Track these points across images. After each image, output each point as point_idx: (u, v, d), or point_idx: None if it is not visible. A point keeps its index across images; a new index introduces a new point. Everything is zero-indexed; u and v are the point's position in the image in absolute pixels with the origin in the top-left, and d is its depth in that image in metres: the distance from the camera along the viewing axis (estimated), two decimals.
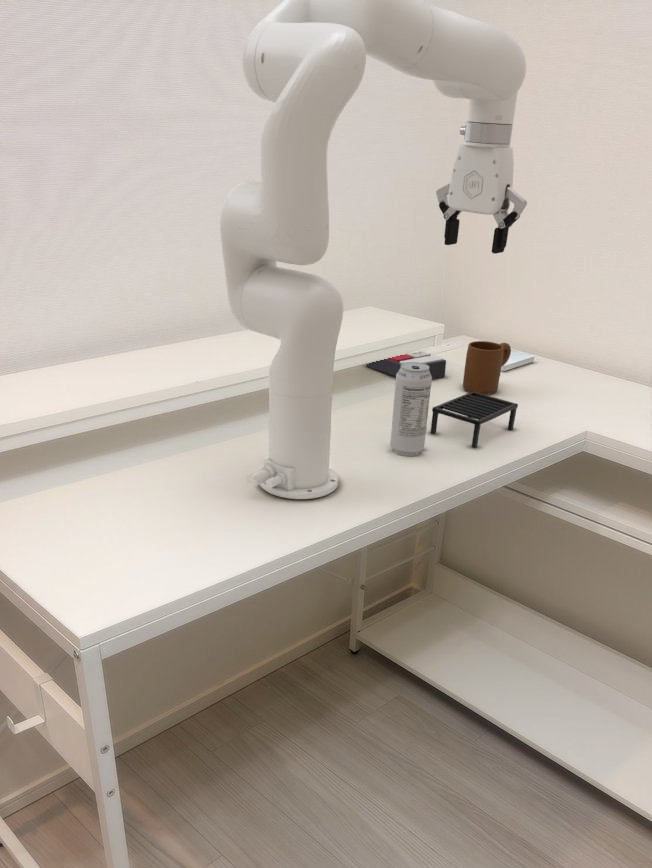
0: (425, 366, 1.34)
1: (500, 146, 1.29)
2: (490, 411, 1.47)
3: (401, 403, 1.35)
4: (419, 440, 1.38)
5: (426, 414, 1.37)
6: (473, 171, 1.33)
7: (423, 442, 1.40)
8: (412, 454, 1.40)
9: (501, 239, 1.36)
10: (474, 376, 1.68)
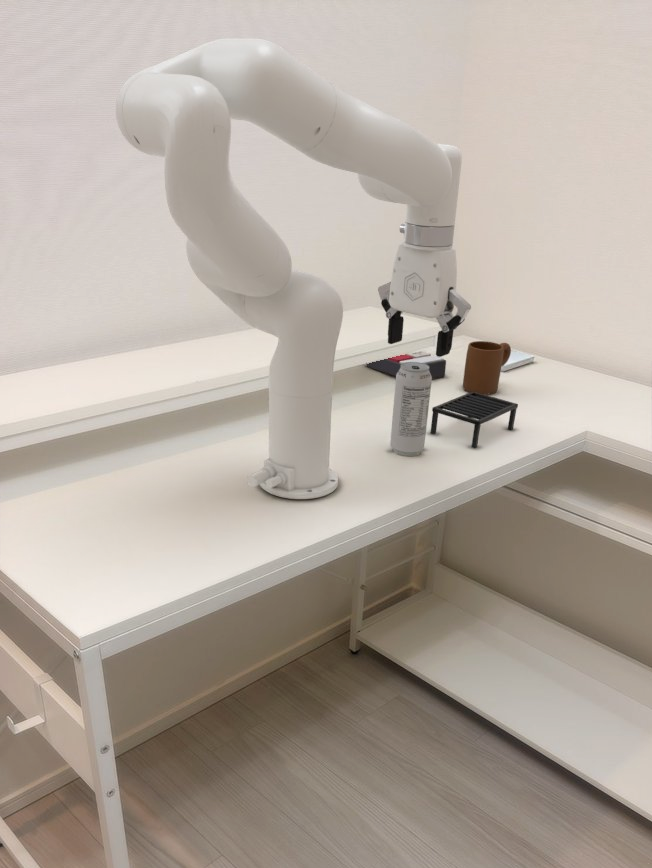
0: (425, 366, 1.34)
1: (441, 249, 1.21)
2: (490, 411, 1.47)
3: (401, 403, 1.35)
4: (419, 440, 1.38)
5: (426, 414, 1.37)
6: (413, 273, 1.24)
7: (423, 442, 1.40)
8: (412, 454, 1.40)
9: (445, 342, 1.28)
10: (474, 376, 1.68)
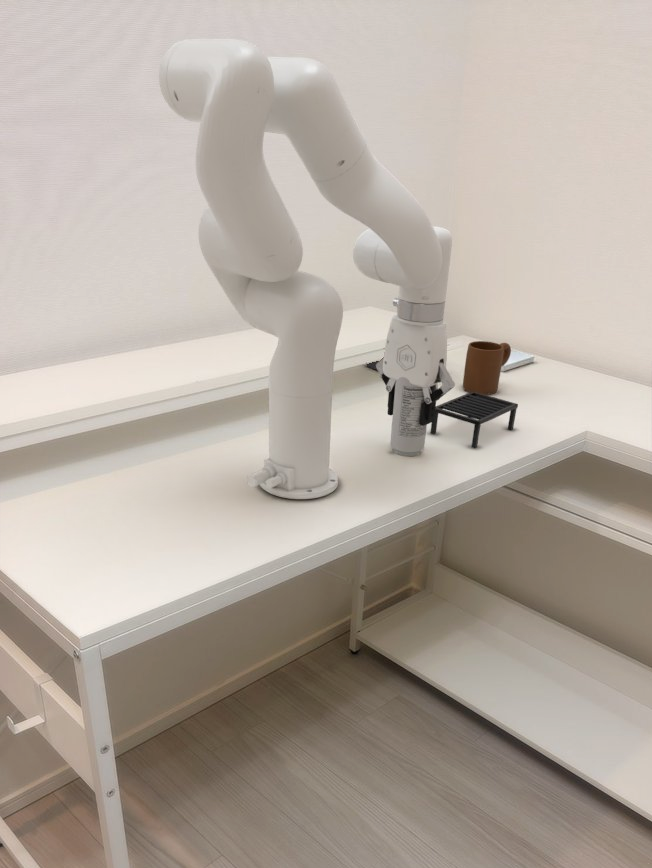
0: None
1: (432, 324, 1.27)
2: (490, 411, 1.47)
3: (401, 403, 1.35)
4: (419, 440, 1.38)
5: None
6: (406, 345, 1.30)
7: (423, 442, 1.40)
8: (412, 454, 1.40)
9: (428, 413, 1.35)
10: (474, 376, 1.68)
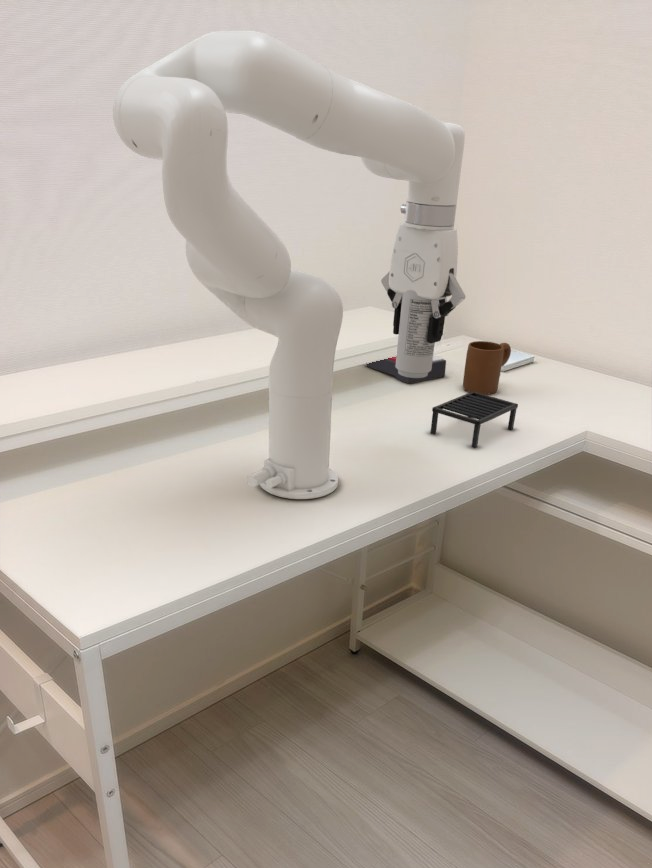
0: None
1: (442, 229, 1.19)
2: (490, 411, 1.47)
3: (408, 319, 1.27)
4: (426, 360, 1.31)
5: None
6: (414, 253, 1.22)
7: (430, 363, 1.32)
8: (419, 376, 1.32)
9: (437, 329, 1.27)
10: (474, 376, 1.68)
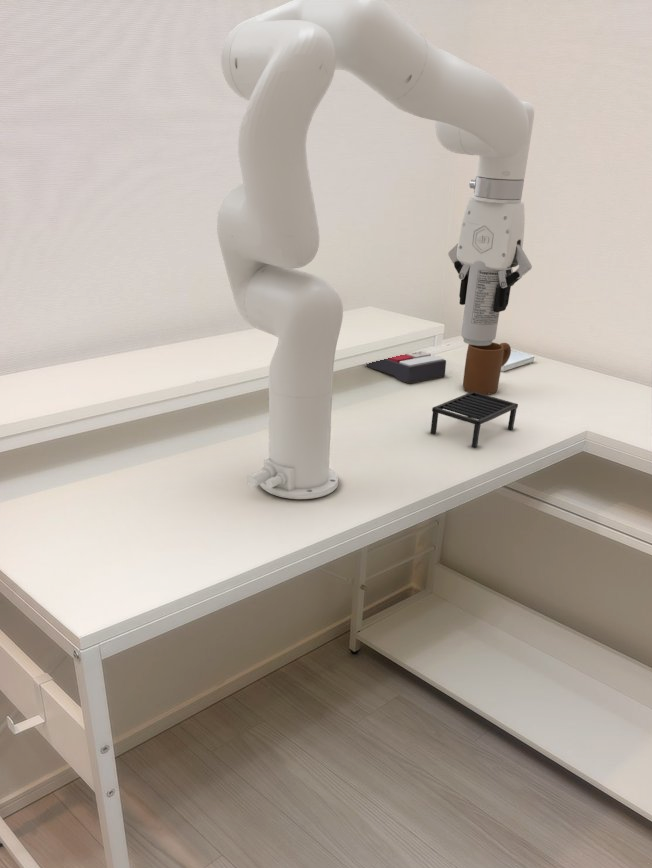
0: None
1: (511, 202, 1.26)
2: (490, 411, 1.47)
3: (475, 289, 1.34)
4: (491, 328, 1.38)
5: None
6: (483, 226, 1.29)
7: (495, 331, 1.39)
8: (484, 344, 1.39)
9: (503, 298, 1.34)
10: (474, 376, 1.68)
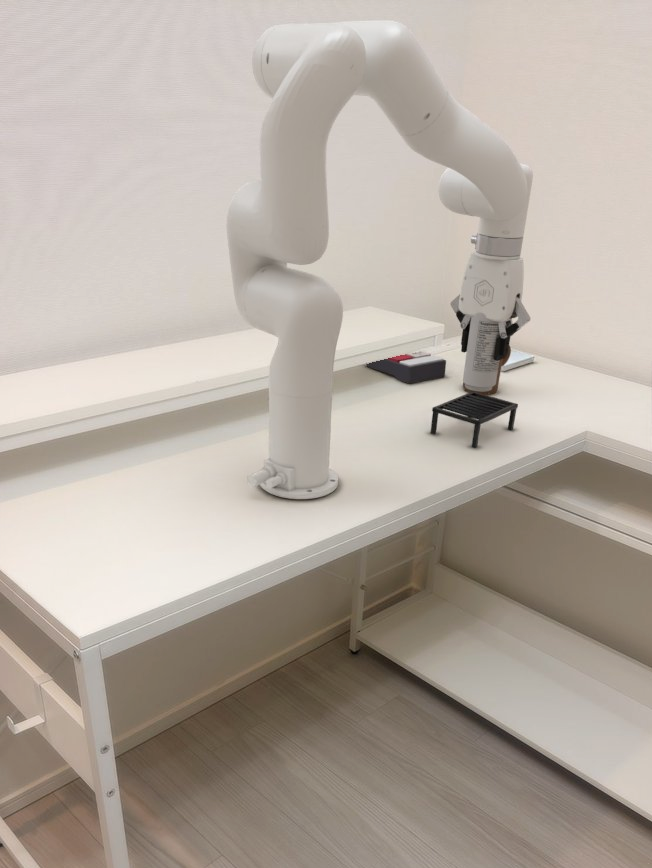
0: None
1: (511, 258, 1.32)
2: (490, 411, 1.47)
3: (476, 339, 1.40)
4: (492, 375, 1.43)
5: None
6: (484, 280, 1.35)
7: (495, 378, 1.45)
8: (485, 390, 1.45)
9: (503, 348, 1.40)
10: None
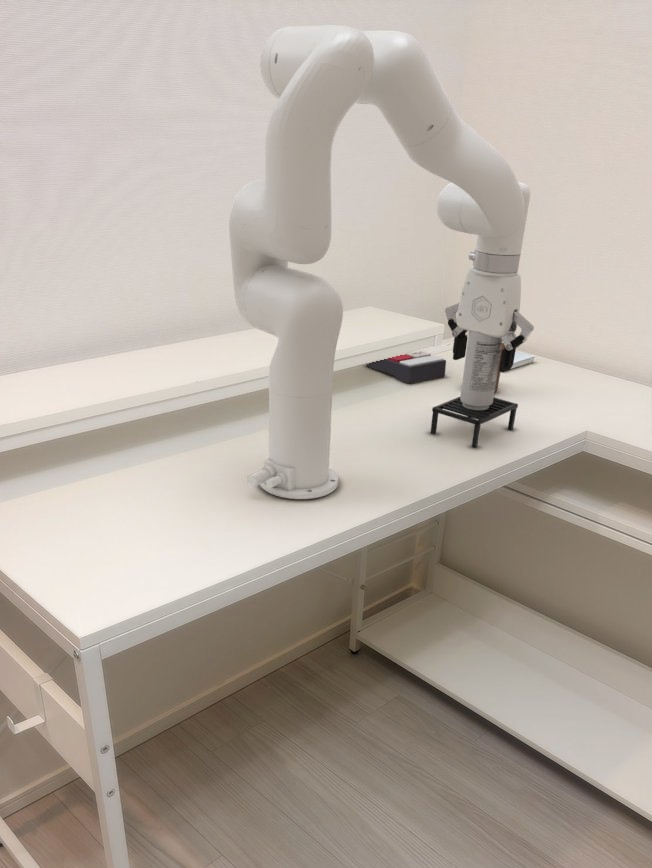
0: None
1: (508, 275, 1.33)
2: (490, 411, 1.47)
3: (473, 359, 1.42)
4: (489, 395, 1.45)
5: (496, 369, 1.44)
6: (481, 296, 1.36)
7: (492, 397, 1.46)
8: (482, 408, 1.47)
9: (508, 359, 1.40)
10: None
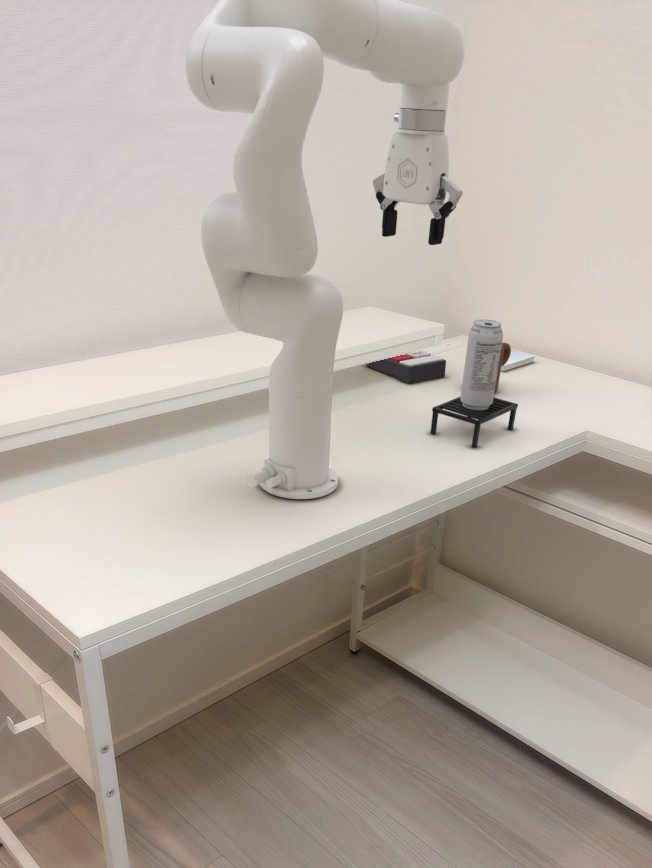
0: (497, 323, 1.41)
1: (433, 133, 1.25)
2: (490, 411, 1.47)
3: (473, 359, 1.42)
4: (489, 395, 1.45)
5: (496, 369, 1.44)
6: (407, 159, 1.28)
7: (492, 397, 1.46)
8: (482, 408, 1.47)
9: (437, 230, 1.32)
10: None
